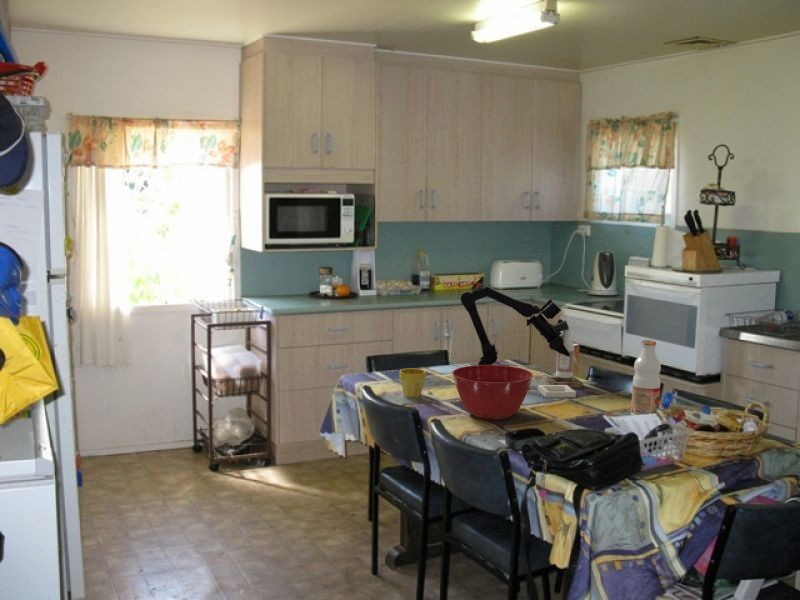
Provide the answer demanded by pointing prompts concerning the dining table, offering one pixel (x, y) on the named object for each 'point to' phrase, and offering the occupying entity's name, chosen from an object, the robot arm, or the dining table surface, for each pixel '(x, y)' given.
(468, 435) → the dining table surface
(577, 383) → the walnut collar
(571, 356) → the bath foam
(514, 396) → the mixing bowl
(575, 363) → the small box
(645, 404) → the fruit juice
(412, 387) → the plant pot
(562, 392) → the white square tray
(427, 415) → the dining table surface
